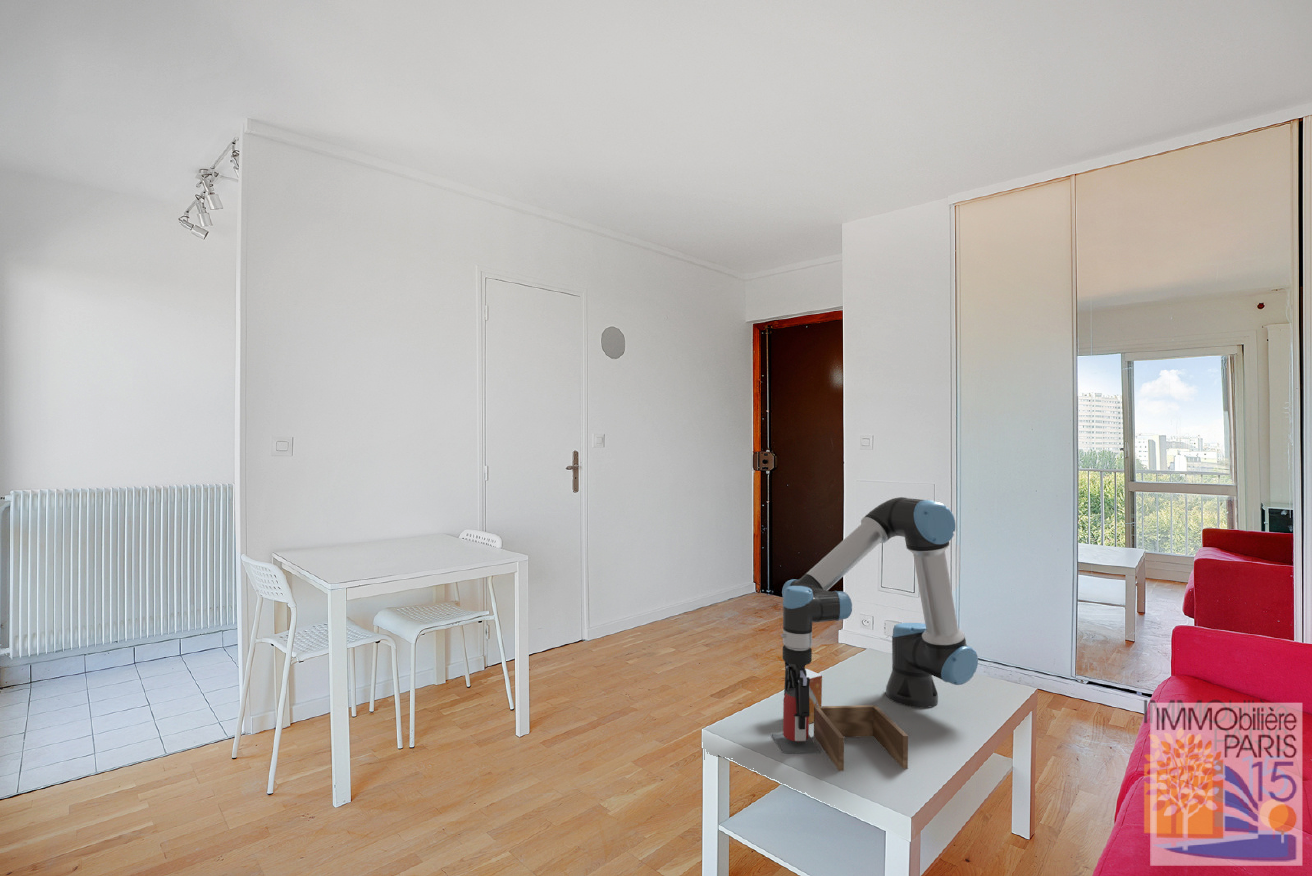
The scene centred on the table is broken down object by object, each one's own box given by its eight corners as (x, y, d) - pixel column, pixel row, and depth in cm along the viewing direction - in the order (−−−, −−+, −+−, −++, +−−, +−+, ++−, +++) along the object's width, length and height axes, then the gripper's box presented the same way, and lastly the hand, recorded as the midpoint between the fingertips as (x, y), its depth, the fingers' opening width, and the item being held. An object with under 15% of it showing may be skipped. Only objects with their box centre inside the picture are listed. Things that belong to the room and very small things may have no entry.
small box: (802, 726, 177) (802, 680, 177) (785, 718, 182) (786, 673, 182) (822, 720, 181) (822, 674, 181) (805, 712, 187) (806, 668, 187)
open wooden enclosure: (875, 734, 173) (875, 705, 173) (907, 768, 155) (908, 735, 155) (813, 736, 171) (814, 706, 171) (838, 770, 153) (839, 737, 153)
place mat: (808, 734, 172) (808, 733, 172) (820, 752, 162) (820, 751, 162) (772, 735, 171) (772, 734, 171) (782, 753, 161) (782, 752, 161)
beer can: (780, 732, 170) (780, 687, 170) (803, 731, 170) (804, 686, 170) (787, 743, 163) (787, 697, 163) (812, 743, 164) (812, 696, 164)
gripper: (773, 635, 176) (772, 717, 176) (794, 659, 157) (793, 752, 157) (799, 634, 177) (798, 717, 177) (824, 658, 157) (822, 751, 157)
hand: (795, 733), depth 167 cm, fingers closed on beer can, 7 cm apart
